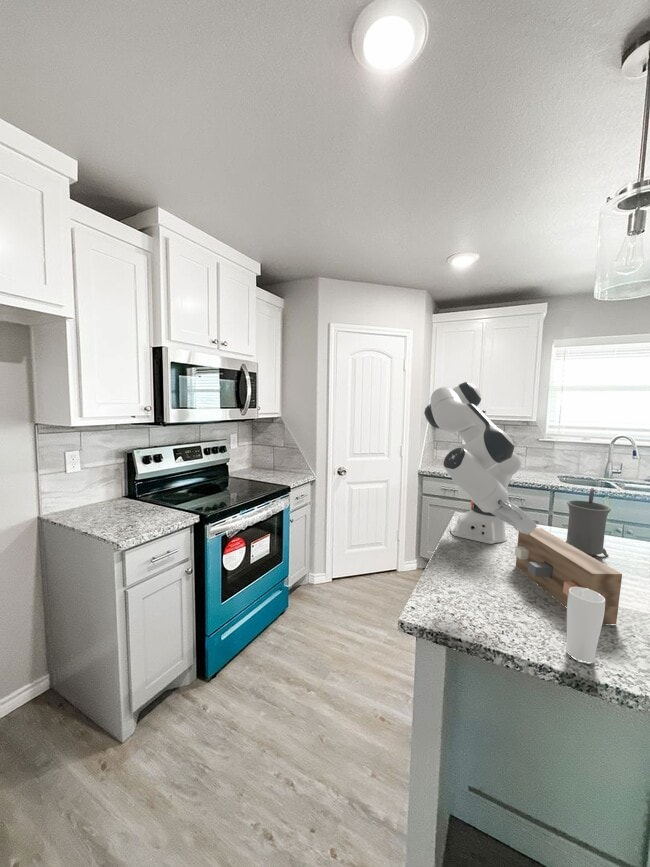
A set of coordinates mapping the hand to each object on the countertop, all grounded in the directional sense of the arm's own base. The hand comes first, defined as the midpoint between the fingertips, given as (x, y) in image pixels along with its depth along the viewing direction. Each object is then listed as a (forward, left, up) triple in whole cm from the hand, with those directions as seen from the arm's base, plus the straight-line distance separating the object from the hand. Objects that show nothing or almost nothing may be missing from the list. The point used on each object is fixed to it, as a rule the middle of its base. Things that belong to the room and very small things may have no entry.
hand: (522, 530), depth 102 cm
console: (+13, +12, -21) cm, 28 cm away
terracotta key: (+14, 0, -16) cm, 21 cm away
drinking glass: (+11, -20, -21) cm, 31 cm away
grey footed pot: (+29, +51, -22) cm, 63 cm away
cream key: (+5, +22, -16) cm, 27 cm away
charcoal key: (+7, +10, -16) cm, 20 cm away
